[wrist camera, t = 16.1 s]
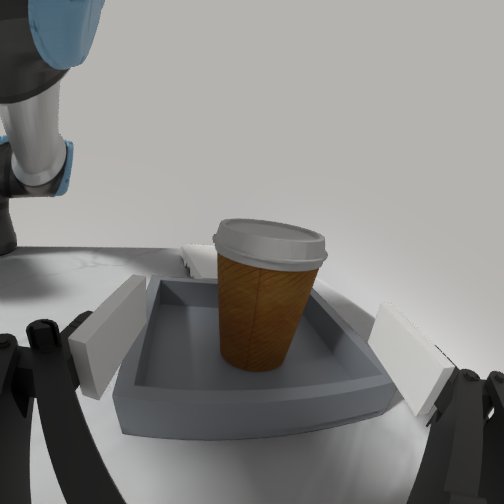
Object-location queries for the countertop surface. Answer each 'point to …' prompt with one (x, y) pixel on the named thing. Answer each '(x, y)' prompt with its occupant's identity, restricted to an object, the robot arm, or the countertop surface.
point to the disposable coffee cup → (263, 288)
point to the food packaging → (200, 260)
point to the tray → (241, 373)
